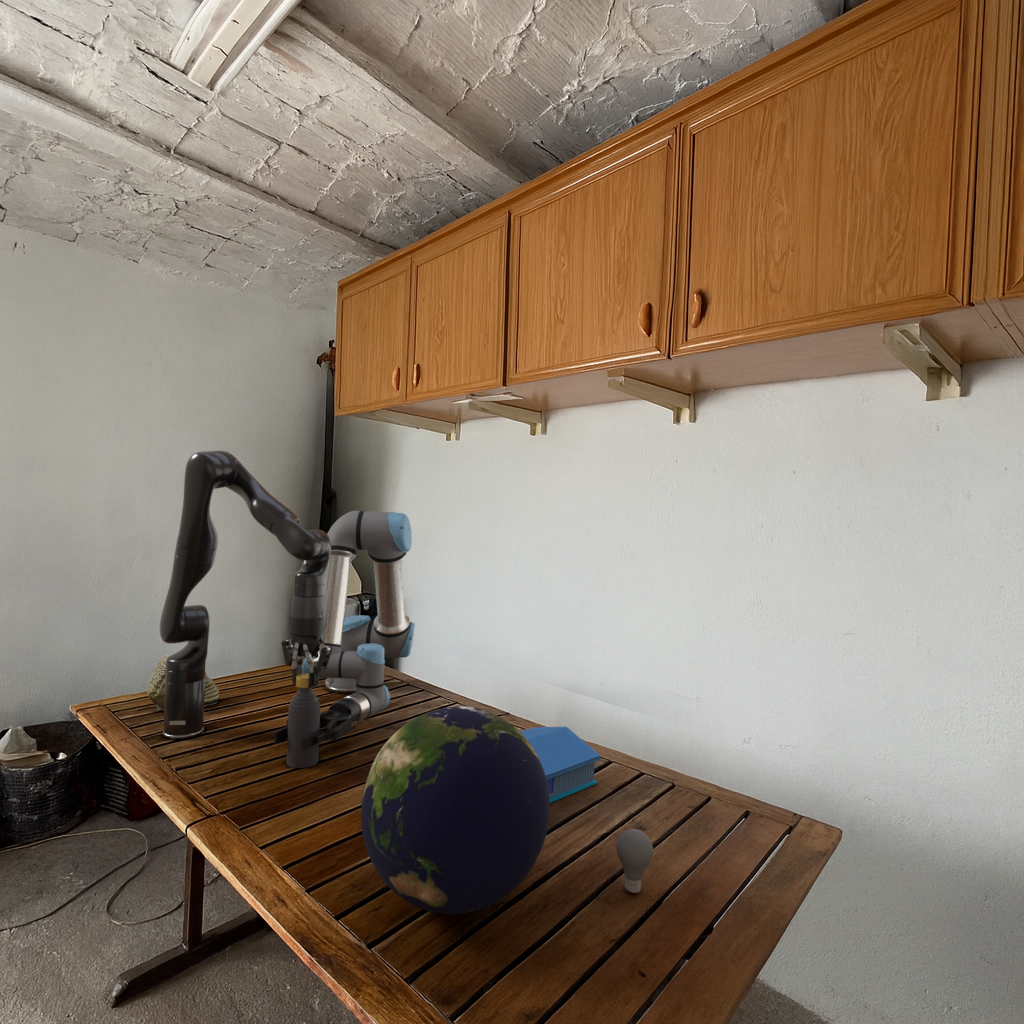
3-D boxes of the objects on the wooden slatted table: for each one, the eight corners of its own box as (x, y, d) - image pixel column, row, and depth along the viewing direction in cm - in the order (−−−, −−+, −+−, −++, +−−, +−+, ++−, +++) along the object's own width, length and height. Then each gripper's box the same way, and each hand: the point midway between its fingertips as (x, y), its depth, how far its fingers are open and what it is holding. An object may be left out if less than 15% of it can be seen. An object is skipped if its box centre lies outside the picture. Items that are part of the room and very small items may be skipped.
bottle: (283, 768, 147) (286, 683, 146) (290, 755, 154) (293, 674, 154) (314, 768, 147) (318, 683, 147) (320, 755, 155) (324, 674, 154)
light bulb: (610, 879, 108) (613, 822, 108) (644, 879, 109) (647, 822, 109) (619, 902, 102) (622, 840, 102) (655, 901, 103) (658, 840, 103)
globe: (316, 925, 94) (323, 724, 93) (419, 831, 121) (425, 675, 121) (501, 992, 83) (511, 764, 82) (568, 871, 110) (576, 700, 110)
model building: (474, 846, 117) (476, 792, 117) (402, 796, 135) (404, 749, 135) (608, 788, 143) (610, 744, 143) (533, 753, 161) (535, 714, 161)
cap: (293, 683, 151) (294, 674, 151) (312, 681, 153) (312, 672, 153) (298, 688, 147) (298, 679, 147) (316, 686, 150) (317, 677, 150)
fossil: (144, 707, 182) (145, 655, 182) (212, 696, 194) (213, 647, 194) (151, 716, 175) (153, 662, 175) (221, 703, 188) (223, 653, 188)
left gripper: (273, 613, 149) (270, 685, 150) (320, 620, 144) (317, 695, 144) (296, 608, 156) (293, 677, 157) (342, 615, 150) (339, 686, 151)
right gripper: (380, 732, 164) (324, 765, 142) (316, 719, 171) (254, 749, 150) (381, 703, 164) (325, 732, 142) (317, 691, 171) (255, 717, 149)
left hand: (305, 685), depth 150 cm, fingers closed on cap, 4 cm apart
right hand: (289, 741), depth 146 cm, fingers closed on bottle, 7 cm apart
